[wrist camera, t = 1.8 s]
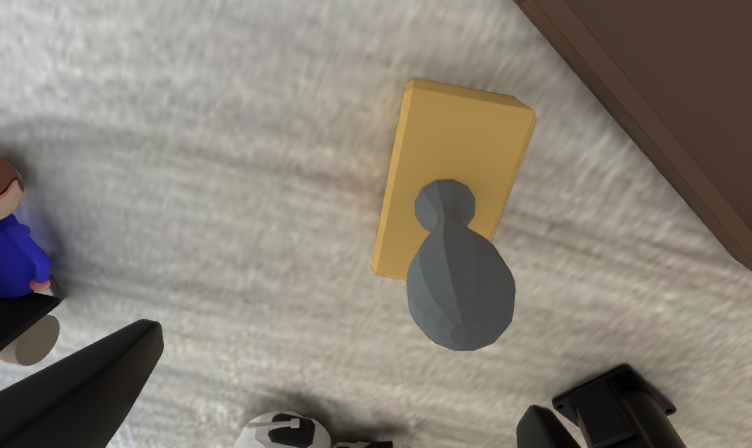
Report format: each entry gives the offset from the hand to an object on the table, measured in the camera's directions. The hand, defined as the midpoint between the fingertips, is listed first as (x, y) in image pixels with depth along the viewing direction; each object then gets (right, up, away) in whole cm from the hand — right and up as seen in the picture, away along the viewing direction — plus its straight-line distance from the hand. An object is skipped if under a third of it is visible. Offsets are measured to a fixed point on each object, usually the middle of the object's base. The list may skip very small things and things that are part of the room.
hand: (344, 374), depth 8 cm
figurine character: (-24, +3, +17) cm, 30 cm away
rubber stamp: (+4, +6, +12) cm, 14 cm away
